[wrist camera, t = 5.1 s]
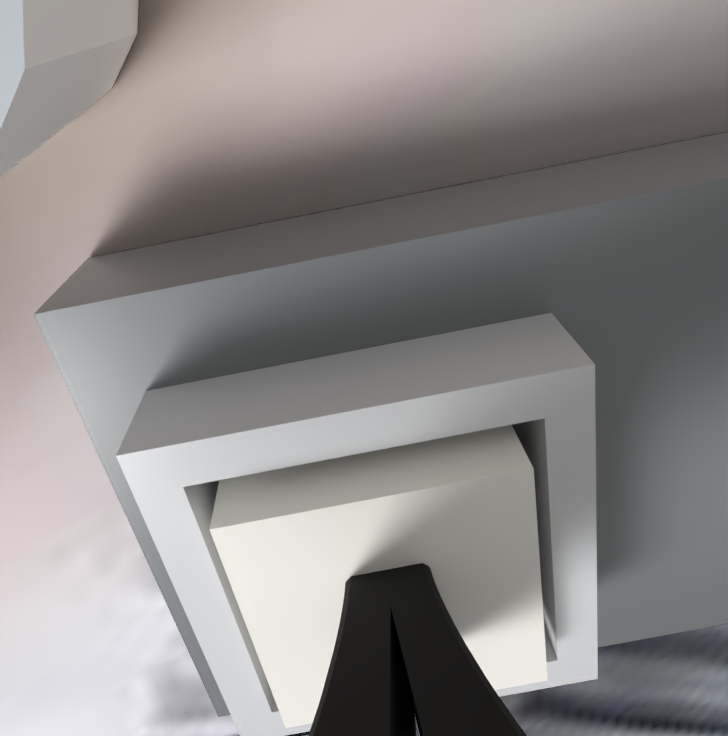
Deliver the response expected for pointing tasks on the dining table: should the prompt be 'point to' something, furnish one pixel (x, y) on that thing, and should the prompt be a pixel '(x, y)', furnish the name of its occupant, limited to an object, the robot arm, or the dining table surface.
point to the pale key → (386, 553)
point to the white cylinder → (56, 65)
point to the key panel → (433, 384)
